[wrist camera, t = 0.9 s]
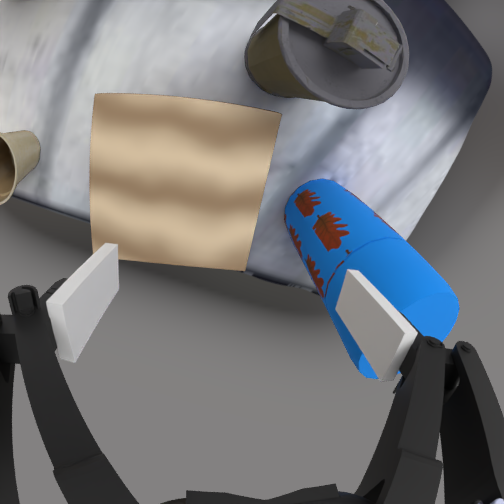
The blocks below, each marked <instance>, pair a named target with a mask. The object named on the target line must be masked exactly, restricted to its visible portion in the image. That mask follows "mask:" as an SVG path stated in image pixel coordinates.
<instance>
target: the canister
mask: <svg viewBox="0 0 504 504" xmlns="http://www.w3.org/2000/svg"><path fill="white" fill-rule="evenodd" d="M273 13H277V15H275V16H274V17H273V18H272V19H271V20H270V21H269V22H268V23H267V24H266V25H265V26H264V27H262V28H261V29H259V28H260V27H261V26H262V24H263V23H264V22H265V21H266V20H267V19H268V18H269V17H270V16H271V15H272V14H273ZM258 29H259V30H258ZM257 30H258V31H257ZM256 31H257V32H256ZM255 32H256V33H255ZM254 33H255V34H254ZM253 34H254V35H253ZM252 35H253V36H252ZM251 36H252V37H251ZM251 36H250V38H249V39H250V40H249V42H248V44H247V47H246V50H245V63H246V68H247V71H248V73H249V75H250V77H251V78H252V80H253V81H254V82H255V83H256V84H257V85H258V86H259V87H260V88H261V89H263V90H264V91H266V92H267V93H270V94H272V95H275V96H278V97H284V98H295V97H297V98H304V99H311V100H318V101H324V102H327V103H329V104H331V105H334V106H338V107H342V108H346V109H364V108H369V107H373V106H376V105H379V104H381V103H384V102H385V101H386V100H388V99H389V98H390V97H392V96H393V95H394V94H395V92H396V91H397V90H398V89H399V88H400V86H401V84H402V82H403V80H404V79H405V76H406V73H407V70H408V63H409V47H408V42H407V38H406V34H405V32H404V29H403V27H402V25H401V22H400V21H399V19H398V18H397V17H396V15H395V14H394V12H393V11H392V10H391V8H390V7H389V6H388V5H387V4H386V3H385V2H384V1H383V0H277V1H276V2H275V3H274V4H273V6H272V7H271V8H270V9H269V10H268V11H267V12H266V14H265V15H264V16H263V17H262V18H261V19H260V21H259V22H258V23H257V25H256V27H255V29H254V31H253V33H252V34H251Z"/></svg>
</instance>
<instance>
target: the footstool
mask: <svg viewBox="0 0 504 504" xmlns="http://www.w3.org/2000/svg"><path fill="white" fill-rule="evenodd" d="M281 116H282V114H281V113H278V112H274V111H269V110H265V109H260V108H254V107H249V106H244V105H238V104H232V103H226V102H219V101H212V100H204V99H196V98H187V97H178V96H166V95H152V94H129V93H99V94H95V97H94V106H93V116H92V128H91V143H90V218H91V234H92V246H93V254H94V253H95V252H96V251H97V250H98V249H99V248H100V247H102V246H103V245H104V244H105V243H112V244H118V259H122V260H132V261H141V262H151V263H162V264H172V265H183V266H194V267H205V268H216V269H228V270H238V271H245V269H246V265H247V261H248V256H249V252H250V248H251V243H252V239H253V235H254V231H255V226H256V222H257V218H258V214H259V209H260V205H261V201H262V197H263V192H264V188H265V184H266V180H267V175H268V171H269V167H270V163H271V158H272V154H273V150H274V146H275V141H276V137H277V133H278V129H279V124H280V120H281Z"/></svg>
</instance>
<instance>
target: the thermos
mask: <svg viewBox="0 0 504 504" xmlns="http://www.w3.org/2000/svg"><path fill="white" fill-rule="evenodd" d="M284 220H285V223H286V226H287V229H288V232H289V234H290V237H291V239H292V241H293V244H294V246H295V248H296V250H297V251H298V253H299V255H300V257H301V259H302V261H303V263H304V265H305V267H306V269H307V271H308V273H309V275H310V277H311V279H312V281H313V283H314V284H315V286H316V288H317V290H318V292H319V294H320V296H321V298H322V300H323V302H324V304H325V306H326V308H327V310H328V312H329V315H330V317H331V319H332V321H333V323H334V325H335V327H336V329H337V331H338V333H339V335H340V337H341V339H342V341H343V344H344V346H345V348H346V350H347V352H348V354H349V356H350V358H351V360H352V361H353V362H354V364H355V366H356V367H357V369H358V370H359V372H360V373H362V374H363V375H364V376H365V377H366V378H373V379H379V378H378V377H377V375H376V373H375V372H374V370H373V369H372V367H371V365H370V364H369V362H368V360H367V359H366V357H365V356H364V354H363V352H362V351H361V349H360V348H359V346H358V344H357V343H356V341H355V340H354V338H353V336H352V335H351V333H350V332H349V330H348V328H347V327H346V325H345V324H344V322H343V321H342V319H341V318H340V316H339V314H338V313H337V311H336V310H335V309H336V305H337V302H338V299H339V296H340V292H341V289H342V286H343V282H344V279H345V275H346V272H347V269H350V270H358V271H359V272H360V273H361V274H362V275H363V276H364V277H365V278H366V279H367V280H368V281H369V282H370V283H371V284H372V285H373V286H374V287H375V288H376V289H377V290H378V291H379V292H380V293H381V294H382V295H383V296H384V297H385V298H386V299H387V300H388V301H389V302H390V303H391V304H392V305H393V306H394V307H395V308H396V310H398V311H399V312H401V313H402V314H404V315H405V317H406V318H407V319H408V320H409V321H410V322H411V323H412V325H414V326H415V327H416V328H417V329H418V330H419V332H420V333H421V334H422V335H423V336H431V337H435V338H437V339H438V340H440V341H441V342H443V340H444V339H445V338H446V337H447V335H448V334H449V332H450V331H451V329H452V327H453V326H454V324H455V322H456V319H457V316H458V312H459V304H458V298H457V297H456V295H455V294H454V292H453V291H452V289H451V288H450V286H449V285H448V284H447V282H446V281H445V280H444V279H443V278H442V277H441V276H440V275H439V274H438V273H437V272H436V271H435V270H434V269H433V268H432V266H430V265H429V263H427V261H426V260H425V259H423V257H422V256H421V255H420V254H419V253H418V252H417V251H416V250H415V249H414V248H413V247H411V245H409V243H407V242H406V241H405V240H404V239H403V238H402V237H401V236H400V235H399V234H398V233H397V232H396V231H395V230H394V229H393V228H392V227H390V226H389V225H388V224H387V223H386V222H385V221H384V220H383V219H382V218H381V217H379V216H378V215H377V214H376V213H375V212H374V211H373V210H372V209H370V208H369V207H368V206H367V205H366V204H365V203H363V202H362V201H361V200H360V199H359V198H358V197H356V196H355V195H354V194H352V193H351V192H349V191H348V190H346V189H345V188H343V187H342V186H340V185H339V184H337V183H336V182H334V181H331V180H326V179H318V180H312V181H309V182H307V183H305V184H304V185H302V186H300V187H299V188H298V189H297V190H296V191H295V192H294V193H293V194H292V195H291V196H290V198H289V200H288V203H287V205H286V207H285V218H284ZM399 373H401V372H400V371H398V373H397V374H399Z"/></svg>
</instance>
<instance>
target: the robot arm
mask: <svg viewBox="0 0 504 504" xmlns="http://www.w3.org/2000/svg"><path fill="white" fill-rule="evenodd" d="M118 290H119V273H118V244H112V243H105V244H104V245H103V246H102V247H100V248H99V249H98V250H97V251H96V252H95V253H94V254H93V255H92V256H91V257H90V258H89V259H88V260H87V261H86V262H85V263H84V264H83V265H81V267H79V268H78V270H76V271H75V272H74V273H73V274H72V275H71V276H70V277H69V278H68V279H66V278H63V279H61V280H59V281H57V282H55V283H54V284H53V285H52V286H51V287H50V289H48V290H47V291H46V293H44V294H43V295H42V297H40V298H39V296H38V291H37V289H36V288H35V287H33V286H30V285H22V286H18V287H16V288H14V289H12V290H11V291H10V292H9V294H8V299H9V303H10V307H11V311H12V315H1V314H0V504H20V503H19V498H18V491H17V485H16V478H15V469H14V459H13V445H12V397H13V382H14V371H15V363H16V364H20V365H21V369H22V374H23V378H24V382H25V386H26V390H27V393H28V397H29V400H30V404H31V407H32V411H33V414H34V417H35V420H36V423H37V426H38V429H39V431H40V434H41V437H42V440H43V442H44V445H45V447H46V450H47V452H48V455H49V457H50V459H51V462H52V464H53V466H54V470H53V473H54V476H55V479H56V481H57V483H58V485H59V487H60V489H61V491H62V493H63V494H64V497H65V498H66V500H67V502H68V504H139V503H138V502H137V501H136V499H135V498H134V497H133V495H132V494H131V493H130V491H129V490H128V489H127V487H126V486H125V484H124V483H123V482H122V480H121V479H120V477H119V476H118V474H117V473H116V471H115V470H114V468H113V467H112V465H111V464H110V463H109V461H108V459H107V458H106V456H105V455H104V454H103V453H102V451H101V450H100V448H99V447H98V445H97V443H96V441H95V440H94V438H93V436H92V434H91V433H90V431H89V429H88V427H87V425H86V423H85V421H84V419H83V417H82V415H81V413H80V411H79V409H78V407H77V405H76V403H75V401H74V399H73V397H72V394H71V392H70V390H69V387H68V385H67V383H66V380H65V378H64V375H63V373H62V370H61V368H60V365H59V363H58V360H57V357H56V355H55V350H56V349H57V350H58V353H59V357H60V359H63V360H66V361H70V362H74V363H75V362H76V360H77V359H78V357H79V355H80V353H81V352H82V350H83V348H84V346H85V344H86V343H87V341H88V339H89V338H90V336H91V334H92V332H93V331H94V329H95V327H96V326H97V324H98V322H99V321H100V319H101V317H102V316H103V314H104V312H105V311H106V309H107V307H108V306H109V304H110V303H111V301H112V299H113V298H114V296H115V294H116V293H117V292H118ZM335 310H336V311H337V313H338V314H339V316H340V318H341V319H342V321H343V322H344V324H345V325H346V327H347V328H348V330H349V332H350V333H351V335H352V336H353V338H354V340H355V341H356V343H357V344H358V346H359V348H360V349H361V351H362V352H363V354H364V356H365V357H366V359H367V360H368V362H369V364H370V365H371V367H372V369H373V370H374V372H375V373H376V375H377V377H378V378H379V380H380V382H384V381H392V380H394V378H395V376H396V375H397V373H398V371H400V372H401V374H402V375H403V376H402V377H401V379H400V381H399V383H398V384H397V386H396V388H395V390H394V391H393V393H395V392H396V394H395V397H394V400H393V404H392V406H391V410H390V412H389V416H388V418H387V421H386V424H385V427H384V429H383V432H382V435H381V437H380V440H379V443H378V445H377V448H376V450H375V453H374V455H373V458H372V460H371V462H370V464H369V467H368V469H367V471H366V473H365V475H364V477H363V480H362V482H361V484H360V486H359V487H358V489H357V491H356V492H355V493H354V494H351V493H347V492H340V491H338V490H337V487H336V484H330V485H325V486H319V487H312V488H304V489H300V490H297V491H294V492H292V493H289V494H286V495H282V496H279V497H276V498H272V499H269V500H261V499H255V498H249V497H244V496H239V495H234V494H229V493H219V492H200V491H188V490H187V491H186V498H182V499H176V500H171V501H167V502H164V503H161V504H435V500H436V496H437V492H438V487H439V483H440V479H441V474H442V468H443V470H444V493H445V504H504V417H503V414H502V411H501V409H500V406H499V403H498V400H497V398H496V395H495V393H494V390H493V388H492V385H491V383H490V380H489V378H488V376H487V373H486V371H485V369H484V366H483V364H482V362H481V360H480V358H479V356H478V354H477V352H476V350H475V348H474V347H473V346H472V345H471V344H469V343H468V342H464V341H459V342H457V343H456V345H455V347H454V348H453V349H446V348H445V346H444V344H443V343H442V342H441V341H440V340H438V339H437V338H435V337H431V336H423V335H422V334H421V333H420V332H419V330H418V329H417V328H416V327H415V326H414V325H412V323H411V322H410V321H409V320H408V319H407V318H406V317H405V315H404V314H402V313H401V312H399V311H398V310H396V308H395V307H394V306H393V305H392V304H391V303H390V302H389V301H388V300H387V299H386V298H385V297H384V296H383V295H382V294H381V293H380V292H379V291H378V290H377V289H376V288H375V287H374V286H373V285H372V284H371V283H370V282H369V281H368V280H367V279H366V278H365V277H364V276H363V275H362V274H361V273H360V272H359V271H358V270H350V269H347V272H346V275H345V279H344V282H343V286H342V289H341V292H340V296H339V299H338V302H337V305H336V309H335ZM439 433H440V437H441V445H442V456H443V463H442V462H441V461H439V460H436V459H435V457H436V451H437V445H438V439H439Z"/></svg>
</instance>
